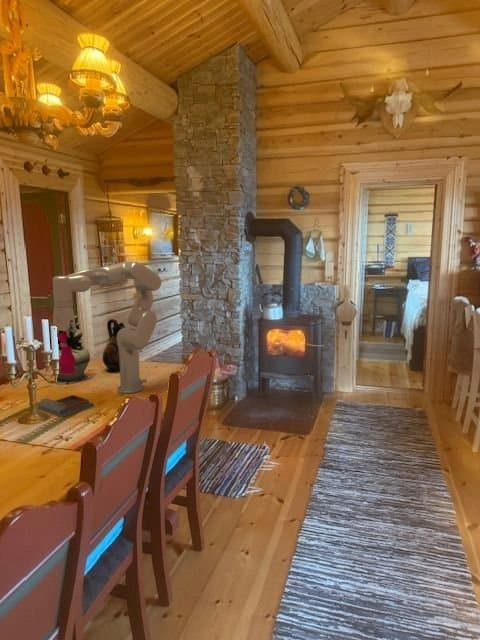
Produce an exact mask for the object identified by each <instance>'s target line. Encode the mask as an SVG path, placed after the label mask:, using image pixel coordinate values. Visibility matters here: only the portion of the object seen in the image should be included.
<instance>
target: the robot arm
mask: <svg viewBox="0 0 480 640" xmlns="http://www.w3.org/2000/svg"><path fill="white" fill-rule="evenodd" d="M126 280H132V283H133V286H134V289H135V292H136V299H135V301H134V303H133V305H132V307H131V310H130V312H129V314H128V317H127V322H128V324H129V325H130V326H132V327H134V328H132V327H125V328H123V329H121V330H120V331H119V332H118V333H117V344H118V349H119V362H120V372H119V378H120V379H119V381H120V382H119V383H120V386H118V387H117V392H118V393H121V394H135V393H139V392H141V391H143V390H144V386H143V384H144V383H147V382H148V381H147V378H143V379H141V377H140V376H141V374H140V352H139V350H140V351H141V350H143V349H144V348H146V346H147V345H148V343H149V341H150V340H151V337H152V335H153V333H154V330H155V328H156V325H157V318H158V317H157V314H156V313H155V312H154V311H153V310H152V309H151V308H152V306H153V303H154V294H153V292H155V291H159V289H160V288H161V287H162V286H161V285H162V279H161V277H160V276H159V274H157V273H156V272H154V271H153V270H152V269H151V268H149V267H147V266H146V265H144V264H142V263H140V262H138V261H122V262H121V261H120V262H118V263H114V264H110V265H105V266H100V267H97V268H91V269H86V270H83V271H82V270H81V271H77V272H74V273H69V274H67V275H57V276H54V277H53V278H52V290H53V293H52V294H53V304H54V305H53V306H54V307H53V312H52V315H53V316H52V324H53V325H52V327H53V326H56V327H57V337H58V336H59V334H60V333H61V332H64V331H66V333H67V336H68V337H67V346H73V345H74V336H75V333H76V331H77V328H76V327H75V316H74V315H75V312H74V303H73V292H74V293H76V292H77V293H85V292H87V291H89V290H90V288H91V286H108V285H113V284H115V283H118V282H123V281H126ZM53 329H54V330H55V328H53ZM70 331H71V332H70ZM69 332H70V333H69ZM60 343H61V342H60V341H59V339H58V344H59V345H60Z"/></svg>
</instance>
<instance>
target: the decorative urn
mask: <svg viewBox="0 0 480 640" xmlns="http://www.w3.org/2000/svg"><path fill="white" fill-rule="evenodd" d="M74 316H75V327H76V328H77V331H76V333H75V336H74V345H73V346H71V350H72V353H73V355H74V357H75V360H76V364H75V366H74V367H75V372H74V373H70V374H61V373H60V369H61V367H60V366H59V374H57V376H58V377H57V382H56V384H60V385H61V384H62V385H65V384H70V385H71V384H74V383H76V382H77V383H78V382H82V381H83V380H84V381H85V380H87V379H91V378H92V376H91V375H88V374H87V375H86V374H85V371H86V370H87V367H88V365H89V363H90V361H91V360H90V358H91V353H90V352H89V350H88V349H87V348H86V347H85V346H84V345H83V339H82V337H83V331H82V329H81V328H80V325H81V322H79V321H78V318H79V315H77V314H76V315H75V314H74ZM70 332H71V331H70ZM59 356H61V346H60V345H59ZM48 380H49V381H50V382H52V381H53V377H50V378H48Z"/></svg>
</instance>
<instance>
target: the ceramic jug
mask: <svg viewBox="0 0 480 640" xmlns="http://www.w3.org/2000/svg"><path fill="white" fill-rule="evenodd" d="M112 324H113V326H112ZM106 327H107V332H108V336H109V338H108V342H107V344H106V345H105V347H104V349H103V352H102V363H103V364H104V366H105V367H106V368H107V371H108V372H110V373H120V362H119V349H118V344H117V333H118V332H119V331H120V330H121V329H123V328H126V326H125V324H124V323H123V322H120V323H118V321H117V320H116V319H114V318H111V319H108V321H107V325H106Z"/></svg>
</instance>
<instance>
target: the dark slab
mask: <svg viewBox="0 0 480 640" xmlns="http://www.w3.org/2000/svg"><path fill="white" fill-rule="evenodd" d="M89 400H90V399H88V398H85V397H82V396H78V395H74V394H71V395H68V396H65V397H62V398H58V399H50V398H47V397H45V398H42V399H40V404H39V405H37V409H38V408H39V409H38V410H40V411H44V412H46V413H49V414H51V415H54V416H56V417H57V416H58V417H59V418H60V417H61V418H64V417H68V416H71V415H74V414H76V413H80V412H82V411H85V410H88V409H90V408H94V407H95V403H93V402H90V401H89Z"/></svg>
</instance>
